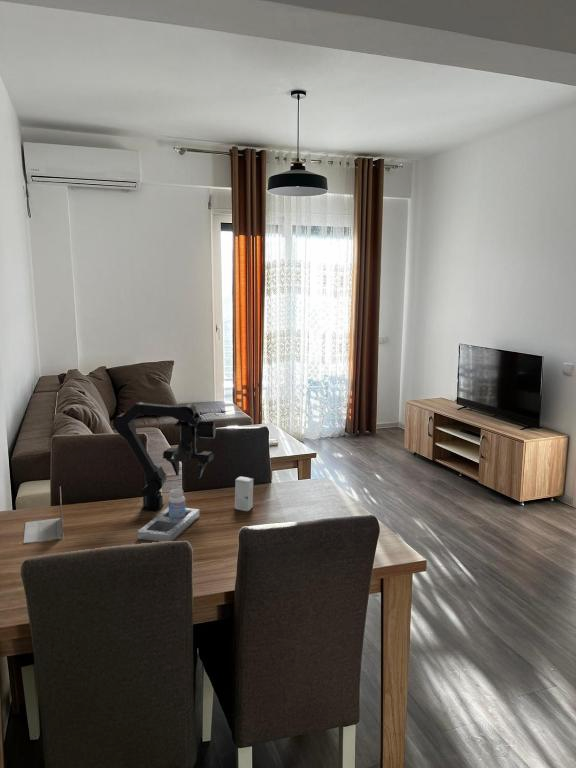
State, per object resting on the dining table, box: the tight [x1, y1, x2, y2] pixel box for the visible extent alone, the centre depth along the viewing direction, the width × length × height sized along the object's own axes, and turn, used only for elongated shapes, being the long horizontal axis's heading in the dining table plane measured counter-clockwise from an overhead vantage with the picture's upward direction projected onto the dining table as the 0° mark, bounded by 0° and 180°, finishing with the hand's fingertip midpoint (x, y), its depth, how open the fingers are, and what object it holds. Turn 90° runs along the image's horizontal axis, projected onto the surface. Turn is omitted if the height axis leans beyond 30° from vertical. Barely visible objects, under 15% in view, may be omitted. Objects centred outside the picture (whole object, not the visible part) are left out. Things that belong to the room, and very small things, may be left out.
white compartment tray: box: [137, 506, 200, 543], centre depth 207 cm, size 12×24×3 cm, turn 165°
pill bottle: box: [167, 488, 186, 519], centre depth 212 cm, size 6×6×11 cm
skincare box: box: [234, 476, 254, 512], centre depth 225 cm, size 6×4×12 cm
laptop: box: [22, 486, 64, 545], centre depth 202 cm, size 18×12×13 cm
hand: (188, 476), depth 223 cm, fingers open, 9 cm apart
